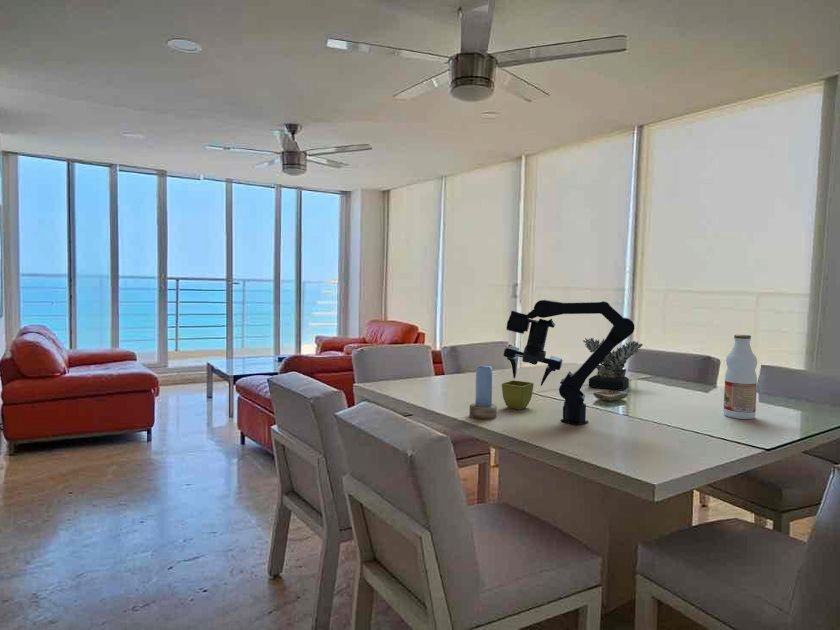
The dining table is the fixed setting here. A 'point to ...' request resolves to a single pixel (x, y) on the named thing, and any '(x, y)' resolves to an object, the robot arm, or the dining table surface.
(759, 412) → the dining table surface
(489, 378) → the vase
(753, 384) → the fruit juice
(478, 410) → the grey-beige round disc
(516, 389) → the flower pot
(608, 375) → the coral
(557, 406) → the dining table surface
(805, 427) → the dining table surface
